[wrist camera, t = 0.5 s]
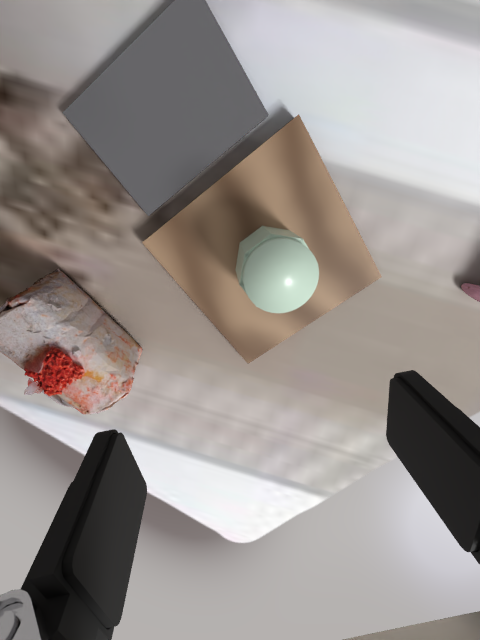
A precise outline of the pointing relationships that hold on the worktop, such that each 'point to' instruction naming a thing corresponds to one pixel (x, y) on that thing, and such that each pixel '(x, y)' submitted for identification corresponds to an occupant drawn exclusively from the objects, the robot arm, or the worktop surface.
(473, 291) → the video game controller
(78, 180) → the worktop surface
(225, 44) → the mat
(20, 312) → the food item
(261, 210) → the post stand
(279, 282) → the cap
